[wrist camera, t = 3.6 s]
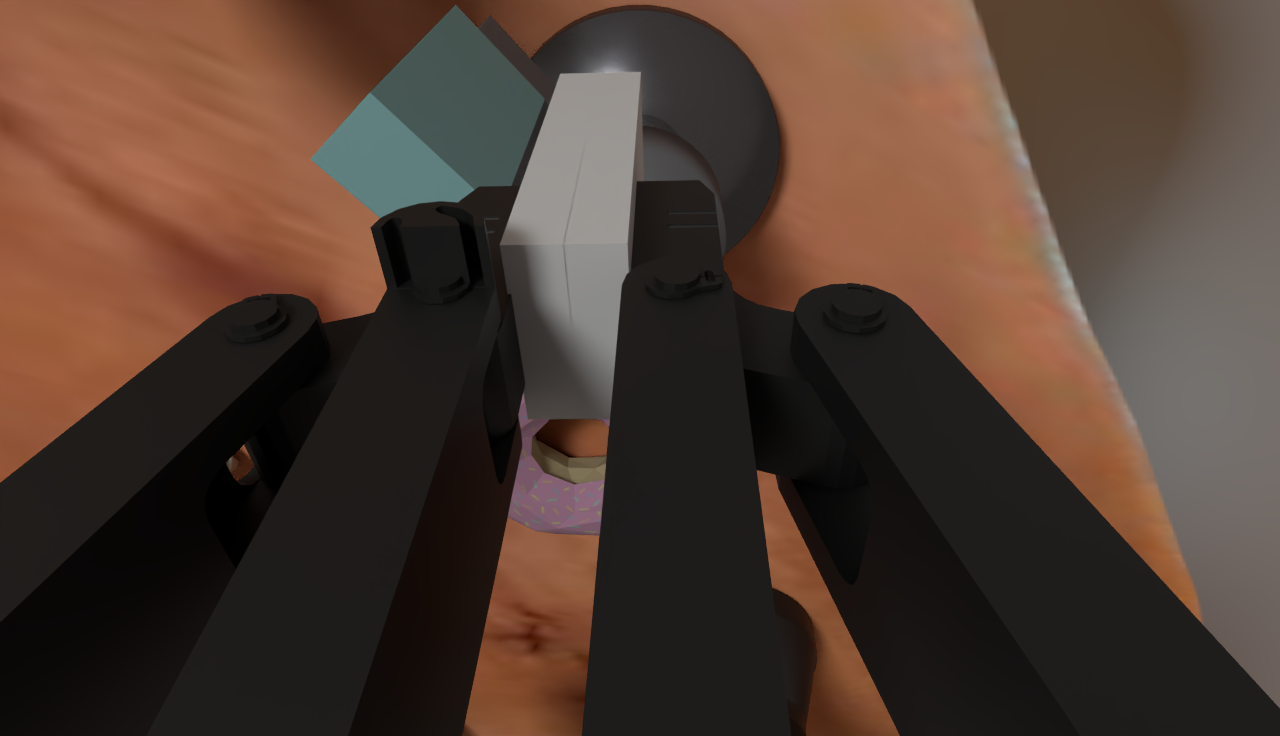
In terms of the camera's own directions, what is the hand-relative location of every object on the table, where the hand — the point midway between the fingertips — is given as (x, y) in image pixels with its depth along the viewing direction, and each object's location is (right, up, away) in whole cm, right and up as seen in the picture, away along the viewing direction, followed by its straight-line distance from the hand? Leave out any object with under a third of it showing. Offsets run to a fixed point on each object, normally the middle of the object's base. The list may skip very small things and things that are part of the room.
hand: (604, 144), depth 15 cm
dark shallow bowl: (-1, +5, +22) cm, 23 cm away
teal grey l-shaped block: (-2, +4, +15) cm, 16 cm away
